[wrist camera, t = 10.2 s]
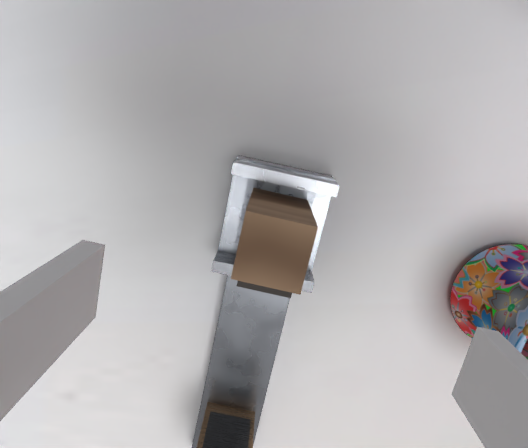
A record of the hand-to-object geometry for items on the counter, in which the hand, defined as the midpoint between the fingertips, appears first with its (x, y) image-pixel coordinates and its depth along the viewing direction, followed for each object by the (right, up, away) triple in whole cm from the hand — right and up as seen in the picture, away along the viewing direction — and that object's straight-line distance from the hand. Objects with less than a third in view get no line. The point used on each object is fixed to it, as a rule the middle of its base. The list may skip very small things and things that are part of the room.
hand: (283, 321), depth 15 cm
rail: (-2, -5, +21) cm, 21 cm away
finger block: (0, +4, +16) cm, 17 cm away
